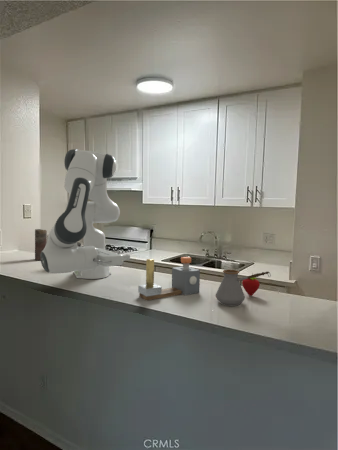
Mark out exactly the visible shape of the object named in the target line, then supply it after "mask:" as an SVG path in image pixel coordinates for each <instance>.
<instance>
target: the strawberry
mask: <svg viewBox="0 0 338 450" xmlns="http://www.w3.org/2000/svg"><path fill="white" fill-rule="evenodd" d="M251 275H254V273H253V272H252V273H251ZM241 281H242V282H241V284H242V289H244V291H245V292H246V294H247V295H248V296H249V297H252V296H253V295H255V293H256V292H257V291H258V290H259V288H260V285H261V284H260V281H259V280H258V277H254V278H249V279H245V280H241Z"/></svg>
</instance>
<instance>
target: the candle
mask: <svg viewBox="0 0 338 450" xmlns="http://www.w3.org/2000/svg"><path fill="white" fill-rule="evenodd" d="M47 231H48V230H46V229H41V228H40V229H39V228H36V229H34V261H41V257H40V255H41V252H42V251H43V249H44V248H45V246H46V243H47V240H48V236H47V235H48V233H47Z"/></svg>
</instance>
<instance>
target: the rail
mask: <svg viewBox="0 0 338 450" xmlns="http://www.w3.org/2000/svg"><path fill="white" fill-rule="evenodd" d="M138 295H139V296H138V297H139V298H141V299H142V300H144V301H146V300H147V301H152V300H156V299H163V298H167V297H174V296H179V295H183V294H182V291H181V290H179V289H176V288H174V287H173V288H172V287H169V288H162V290H161V294H159V295H153V296H147V297H146V296H145V295H143V294H141V293H139V292H138Z"/></svg>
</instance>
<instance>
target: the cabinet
mask: <svg viewBox="0 0 338 450" xmlns="http://www.w3.org/2000/svg"><path fill="white" fill-rule="evenodd" d="M200 283H201V270H200V269H198V268H194V267H191V266H189V270H183V265H182V266H176V267H171V288H173V287H174V288H176V289H179V290H181V291H182V294H181V295H184V296H187V295H192V294H193V295H194V294H199V293H200V288H201V287H200V285H201V284H200Z"/></svg>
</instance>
